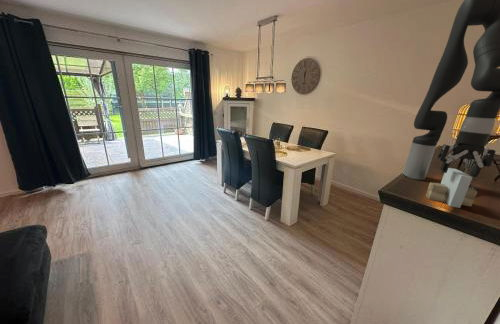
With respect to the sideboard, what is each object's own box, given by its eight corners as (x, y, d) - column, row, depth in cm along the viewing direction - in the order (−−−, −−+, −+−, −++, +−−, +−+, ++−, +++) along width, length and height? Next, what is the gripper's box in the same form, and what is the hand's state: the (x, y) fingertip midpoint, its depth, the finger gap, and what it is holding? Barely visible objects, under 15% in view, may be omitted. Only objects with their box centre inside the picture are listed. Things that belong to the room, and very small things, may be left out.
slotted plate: (436, 195, 83) (446, 167, 80) (445, 196, 82) (456, 168, 79) (449, 206, 74) (461, 175, 71) (460, 207, 73) (472, 177, 70)
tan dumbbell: (425, 195, 82) (430, 182, 80) (466, 202, 78) (472, 188, 76) (428, 199, 79) (433, 185, 77) (471, 206, 75) (477, 191, 73)
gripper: (493, 131, 71) (475, 174, 76) (444, 127, 76) (429, 168, 81) (511, 134, 65) (489, 181, 70) (455, 130, 69) (439, 174, 74)
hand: (457, 174), depth 75 cm, fingers open, 8 cm apart
